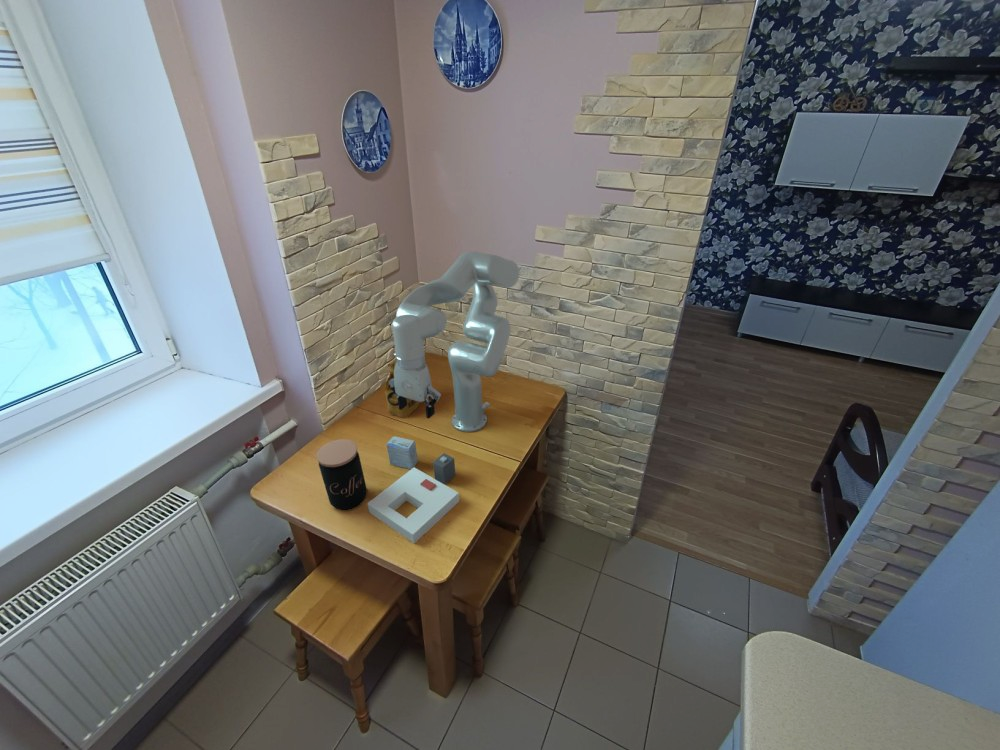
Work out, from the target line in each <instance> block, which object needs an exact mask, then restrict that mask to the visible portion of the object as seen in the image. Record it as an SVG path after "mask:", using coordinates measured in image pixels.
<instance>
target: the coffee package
mask: <svg viewBox="0 0 1000 750" xmlns="http://www.w3.org/2000/svg"><path fill="white" fill-rule="evenodd" d="M396 362H397V359H396V360H395V361H392V362H389V363H388V364H387V367H389V368H390V371H389V377H387V379H386V381H385V385H384V394H385V398H386V405H387V406H386V407H387V411H388V413H389V414H390V416H396V417H399V418H401V419H402V418H404V419H406V418H409V417H410V415H411V414H412V413H413V412H414V411H417V409H418V407H419V406H420V404H421V402H419V401H415V400H412V399H409V398H407V406H406V407H404V408H403V409H402V410H400V409H399V405H398V398H396V397H395V393H394V392H393V391H392V387H391V386H390V384H389V383H388V381H390V380H391V379H394V368H395V363H396Z"/></svg>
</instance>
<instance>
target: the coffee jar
mask: <svg viewBox="0 0 1000 750" xmlns="http://www.w3.org/2000/svg"><path fill="white" fill-rule="evenodd" d="M316 459H317V462H318V467H319V471H320V474H321V477H322V481H323V484H324V487H325V491H326V493H327V498H328V501H329V504H330V505H331V507H332V508H334V509H336V510H339V511H350V510H353V509H356V508H358V507H359V506H360V505H361V504H363V502H364V501H365V499H366V497H367V494H368V489H367V488H368V487H367V485H366V484H367V483H366V480H365V476H364V471H363V466H362V462H361V458H360V454H359V452H358V446H357V444H356V443H355V442H354V441H353V440H350V439H344V438H342V439H341V438H340V439H334V440H332V441H329V442H327V443H325V444H324V445H322V446H321V447H320V448H319V449H318V451H317V453H316Z"/></svg>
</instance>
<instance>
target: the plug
mask: <svg viewBox="0 0 1000 750" xmlns="http://www.w3.org/2000/svg"><path fill="white" fill-rule="evenodd" d="M432 465H433V466H432V467H433V472H434V473H433V474H434V479H435V480H437V481H439V482H441V483H442V484H444V485H446V484H447V483H448V482H450V481H451V480H452V479H453V478H454V477H456V465H455V458H454V457H453V456H451V455H449V454H447V453H445V452H444V453H442V454H441V455H440V456H439V457H437V458H435V459H434V460H433V462H432Z"/></svg>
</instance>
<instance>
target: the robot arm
mask: <svg viewBox="0 0 1000 750" xmlns="http://www.w3.org/2000/svg"><path fill="white" fill-rule="evenodd" d="M519 278H520V270H519V266H518V264H517V263H516V262H515V261H513V260H510V259H508V258H504V257H503V256H499V255H497V254H492V253H485V252H479V251H465V252H463V253H462V254H461V255H459V256H458V258H457V259H456V260H455V261H454V262H453V263H452V265H451V266H450V267H449V268H448V269H447V270H446V272H444V274H443V275H442V276H441V277H440V278H438V279H435V280H431V281H430V282H427V283H426V284H423V285H421V286H418V287H416V288H415V289H413V290H412V291H411V292H410V293H409V294H408V295H407V296H406V297H405V298H404V299H403V300H402V301H401V303H400V305H399V306H398V308H397V310H396V312H395V318H393V320H392V324H391V328H392V335H393V341H394V342H393V343H394V350H395V352H393V357H395V358H396V360H397V362H396V363H395V368H394V379H391V380H390V381H388V383H389V384H390V386H391V387H392V391H393V392H394V393H395V397H396V398H398V405H399V409H400V410H402V409H403V408H404V407H406V406H407V398H409V399H412V400H415V401H419V402H420V403H422V402H423V403H424V404H425V405H426V406H425V416H426V417H425V418H426V419H428V420H429V419H431V418H432V417H433V416H434V415H435V413H436V410H435V404H436V403H437V402H439V400H440V398H441V397H442V394H441V392H439V391H438V390H437V389H435V388H434V387H433V385H432V379H431V375H430V370H429V368H428V364H427V363H426V358H425V347H424V340H426V339H430V338H433V337H435V336H438V335H440V334H441V333H442V332H443V331H444V329H445V328H446V326H447V323H448V322H447V321H448V318H447V315H446V314H445V313H444V312H443V311H442V310H440V309H438V308H434V307H431V306H434V305H436V306H437V305H441V304H442V305H443V304H447V303H448V304H449V303H454V302H458V301H460V300H462V299H463V298H464V297H465V296H466V295H467V293H468V292H469V291H470V289H471V288H472V291H473V292H472V293H473V294H472V300H471V303H470V305H469V308H468V311H467V313H466V317H465V320H464V322H463V325H462V333H463V335H464V336H465V337H466V338H467V339H470V340H472V341H477V342H482V343H485V344H487V345H481V344H478V343H474V342H469V341H467V340H465V341H463V340H458V341H455V342H453V343H452V344H451V345H450V346H449V348H448V351H447V360H448V364H449V367H450V370H451V374H452V375H451V376H452V384H453V398H454V411H455V413H454V414H453V415H452V418H451V424H452V426H453V428H455V429H456V430H457V431H460V432H465V433H470V432H471V433H472V432H473V433H474V432H476V431H479V430H481V429H483V428H484V427H485V425H487V421H488V420H487V419H488V417H487V415H486V414H485V413H484V412H485V411H486V409H487V408H489V407H490V406H491V405H490V403H489V402H488V401H485V402H484V403H483V399H482V397H483V396H482V395H483V394H482V378H481V376H482V377H486V378H491V377H494V376H495V375H496V373H497V372H498V370H499V369H500V365H501V363H502V360H503V356H504V354H505V351H506V348H507V345H508V342H509V339H510V336H511V324H510V322H509V320H508V319H507V318H506V317H503V316H502V315H501V316H500V315H496V314H495V313H496V309H497V306H498V303H499V302H498V300H499V299H498V296H497V294H496V291H495V288H494V287H493V286H496V287H501V288H506V289H510V288H512V287H514V286H515V285H517V283H518V281H519ZM428 399H429V400H428Z"/></svg>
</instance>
